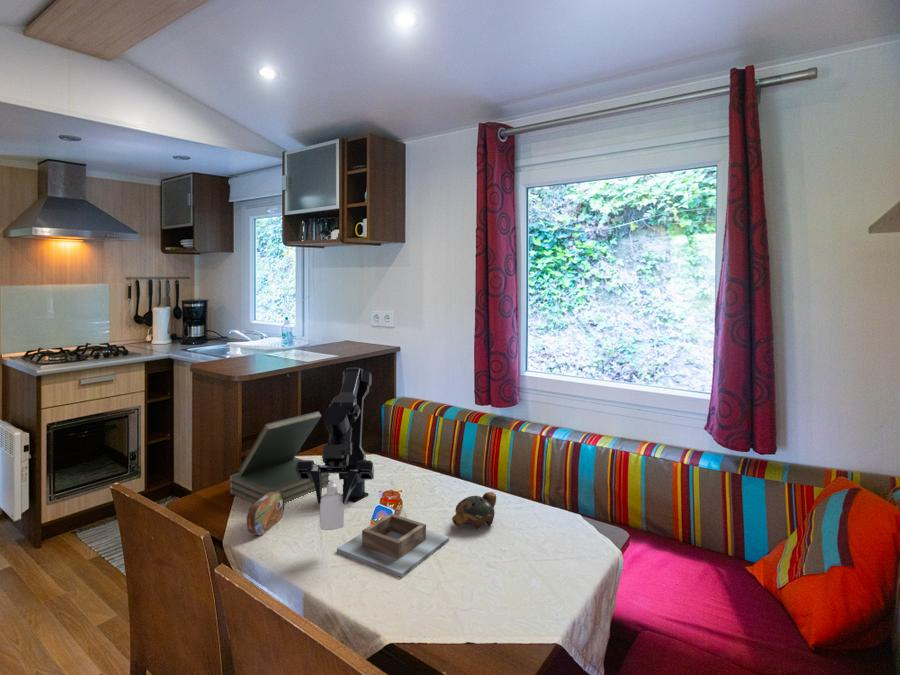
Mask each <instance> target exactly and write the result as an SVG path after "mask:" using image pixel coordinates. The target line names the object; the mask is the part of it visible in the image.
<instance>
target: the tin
mask: <svg viewBox="0 0 900 675" xmlns="http://www.w3.org/2000/svg"><path fill="white" fill-rule="evenodd" d="M284 510H285V504H284V497H283V494H282V493H281V492H279V491H278V492H269V493H267V494H266V495H265V496H263V497H262V498H261V499H259V500H258V501H257V502H255V503H252V505H251V506H250V507H249V509H248V512H247V515H246V526H247V532H248V533H249V534H251V535H252V536H253V535H254V536H264V535H265V534H266V533H267V532H268V531H269V530H270V529H272V528H273V527H274V526H275V525H276V524H277V523H279V522H280V521H281V519H282V518H283V514H284ZM273 525H274V526H273ZM272 526H273V527H272ZM271 527H272V528H271ZM266 531H267V532H266ZM265 532H266V533H265ZM264 533H265V534H264ZM263 534H264V535H263Z"/></svg>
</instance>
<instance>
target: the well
mask: <svg viewBox="0 0 900 675" xmlns="http://www.w3.org/2000/svg"><path fill="white" fill-rule="evenodd" d="M449 541H450V537H449V536H446V535H443V534H440V533H437V532H434V531H430V530H428V529H427V524H425V523H423V522H419V521H417V520H413V519H409V518H406V517H404V516H401V515H398V514H394V513H389V514H387V515H386V516H384V517H382V518H381V519H378V520H377V521H375V522H374V523H371V525H369V526H367V527H365V528H364V529H362V530H361V533H360V534H358V535H357V536H355V537H353V538H351V539H350V540H348V541H347V542H345V543H343V544H341V545H340V546H339V547H337V548H336V552H337V553H338V552H339V553H338V554H341V553H342V554H341V555H343V554H344V556H347V557H349V558H352V559H353V560H356V561H359V562H361V563H364V564H366V565H369V566H372V567H374V568H377V569H378V570H381V571H384V572H387V573H389V574H392V575H394V576H397V577H399V578H404V577H405V576H406V575H408V574H409V573H410V572H411V571H413V570H414V569H416V568H417V567H418V566H419V565H420V564H422V563H423V562H424V561H426V560H427V559H428V558H430V557H431V556H432V555H433V554H434V553H436V552H437V551H438V550H439V549H441V548H442V547H443V546H444V545H446V544H447V543H448V542H449Z"/></svg>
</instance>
